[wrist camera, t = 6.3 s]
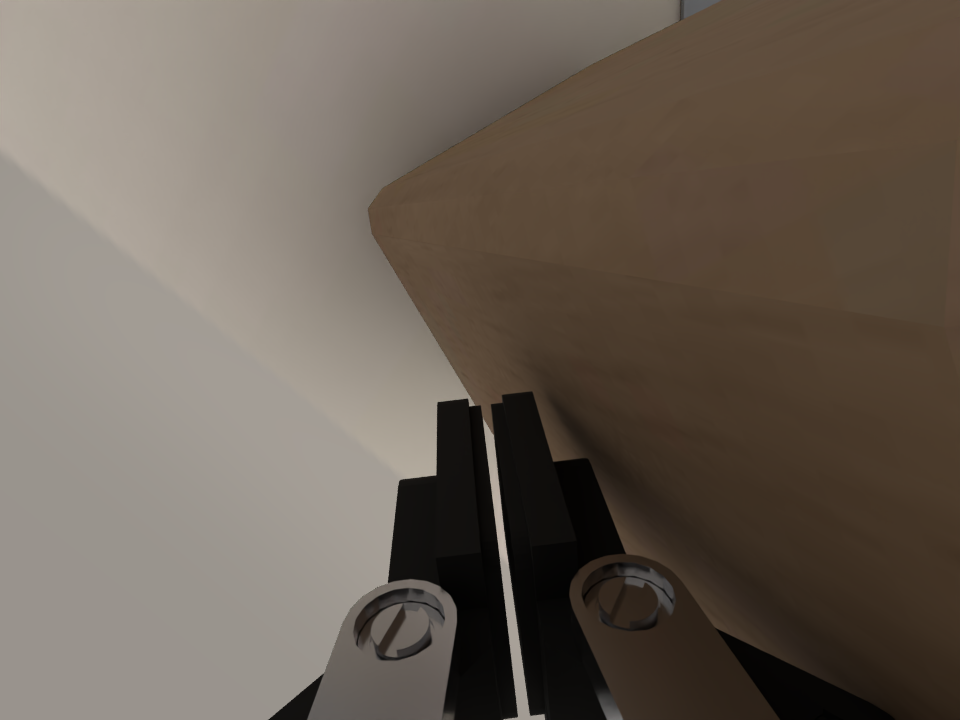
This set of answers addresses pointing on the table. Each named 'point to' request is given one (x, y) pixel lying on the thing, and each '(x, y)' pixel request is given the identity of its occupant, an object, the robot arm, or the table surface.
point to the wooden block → (736, 316)
